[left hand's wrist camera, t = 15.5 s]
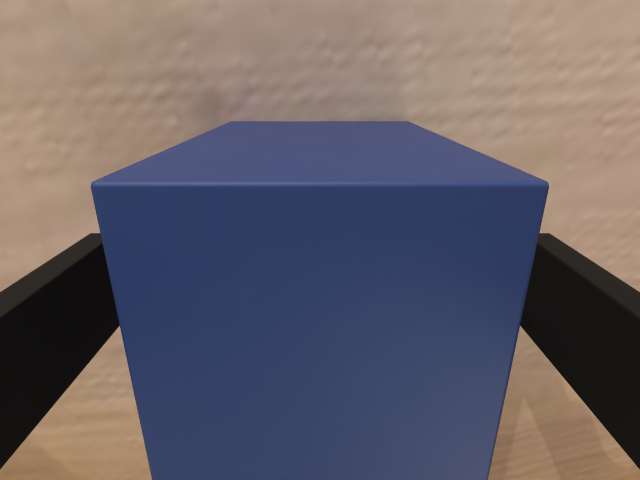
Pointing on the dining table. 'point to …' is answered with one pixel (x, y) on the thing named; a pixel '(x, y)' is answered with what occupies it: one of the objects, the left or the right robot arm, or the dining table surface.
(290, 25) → the dining table surface
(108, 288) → the left robot arm
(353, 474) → the brick
